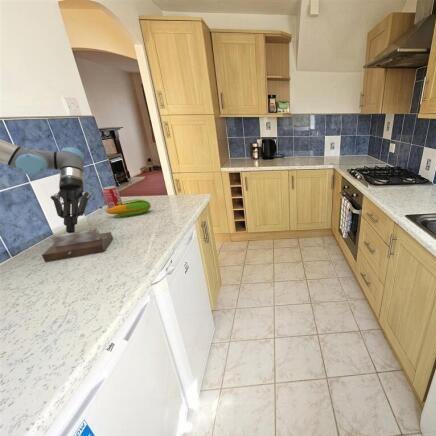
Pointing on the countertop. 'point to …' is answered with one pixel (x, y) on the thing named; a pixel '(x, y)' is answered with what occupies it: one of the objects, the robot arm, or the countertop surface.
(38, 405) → the countertop surface
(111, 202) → the soda can
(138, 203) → the corn
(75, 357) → the countertop surface
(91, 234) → the grey bar
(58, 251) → the base
